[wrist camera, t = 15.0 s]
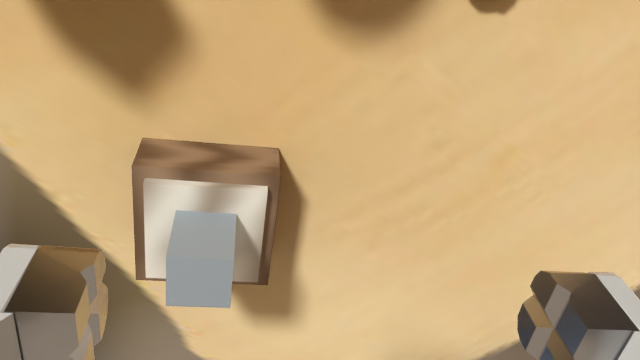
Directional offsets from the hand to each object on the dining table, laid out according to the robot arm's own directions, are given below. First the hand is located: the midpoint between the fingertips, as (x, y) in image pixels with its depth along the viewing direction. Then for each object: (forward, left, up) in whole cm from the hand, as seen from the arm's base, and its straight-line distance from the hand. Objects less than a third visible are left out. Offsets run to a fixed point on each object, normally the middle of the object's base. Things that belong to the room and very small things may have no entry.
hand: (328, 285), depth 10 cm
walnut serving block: (+4, +23, -37) cm, 44 cm away
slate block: (+4, +23, -31) cm, 39 cm away
